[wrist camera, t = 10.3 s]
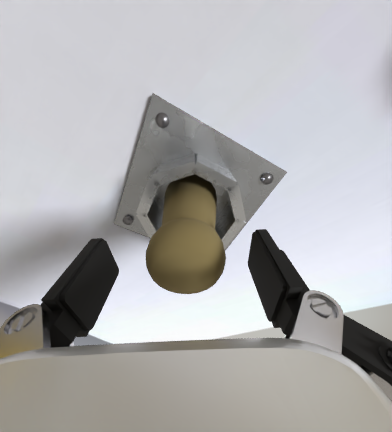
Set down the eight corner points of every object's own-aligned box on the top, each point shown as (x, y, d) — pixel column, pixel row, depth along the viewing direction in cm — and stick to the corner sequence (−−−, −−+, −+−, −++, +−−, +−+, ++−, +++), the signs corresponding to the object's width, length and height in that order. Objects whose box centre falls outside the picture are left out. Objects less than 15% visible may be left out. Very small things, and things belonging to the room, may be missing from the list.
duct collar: (115, 221, 21) (96, 244, 17) (154, 94, 14) (138, 83, 10) (215, 259, 24) (218, 286, 21) (284, 170, 18) (309, 184, 14)
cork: (161, 215, 20) (128, 300, 10) (169, 167, 17) (134, 224, 8) (208, 225, 21) (217, 313, 11) (224, 181, 18) (255, 249, 8)
